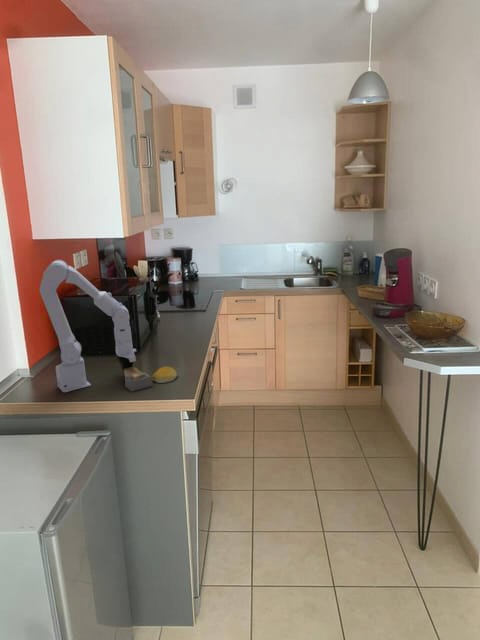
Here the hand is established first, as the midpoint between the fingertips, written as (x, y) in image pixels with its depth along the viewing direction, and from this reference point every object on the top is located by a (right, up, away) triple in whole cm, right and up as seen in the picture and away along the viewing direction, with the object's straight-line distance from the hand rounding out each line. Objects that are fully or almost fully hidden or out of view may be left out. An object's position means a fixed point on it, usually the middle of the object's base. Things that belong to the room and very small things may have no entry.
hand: (127, 375), depth 170 cm
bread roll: (+14, -1, -2) cm, 14 cm away
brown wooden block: (+4, -2, -5) cm, 7 cm away
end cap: (+6, -3, -8) cm, 10 cm away
